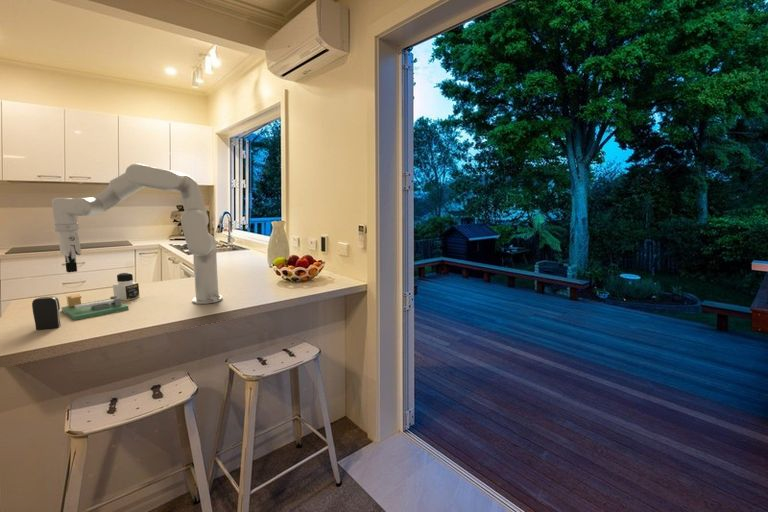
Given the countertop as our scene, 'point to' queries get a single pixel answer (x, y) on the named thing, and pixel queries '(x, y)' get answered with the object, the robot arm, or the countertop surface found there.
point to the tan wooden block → (73, 300)
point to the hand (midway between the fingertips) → (71, 271)
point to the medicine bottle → (126, 287)
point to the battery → (46, 312)
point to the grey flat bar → (95, 303)
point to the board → (95, 309)
